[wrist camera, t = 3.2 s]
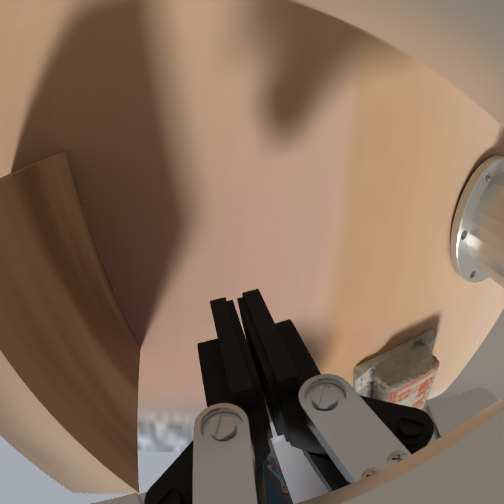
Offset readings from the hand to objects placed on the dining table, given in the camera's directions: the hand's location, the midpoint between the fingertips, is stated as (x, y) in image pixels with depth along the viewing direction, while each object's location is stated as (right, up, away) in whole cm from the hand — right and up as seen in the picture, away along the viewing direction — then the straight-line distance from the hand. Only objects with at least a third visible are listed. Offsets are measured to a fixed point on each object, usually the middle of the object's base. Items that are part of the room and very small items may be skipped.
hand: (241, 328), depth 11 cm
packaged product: (+16, -14, +21) cm, 30 cm away
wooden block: (-10, +1, +6) cm, 12 cm away
